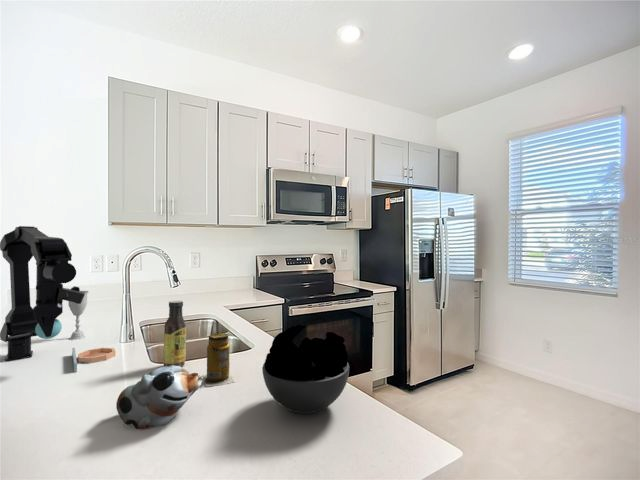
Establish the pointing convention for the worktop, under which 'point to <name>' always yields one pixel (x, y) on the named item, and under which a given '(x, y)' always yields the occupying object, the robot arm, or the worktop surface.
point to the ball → (55, 331)
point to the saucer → (96, 355)
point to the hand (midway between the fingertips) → (48, 334)
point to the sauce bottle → (175, 336)
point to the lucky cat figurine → (157, 397)
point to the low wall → (74, 359)
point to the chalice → (77, 311)
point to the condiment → (217, 360)
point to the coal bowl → (306, 370)
